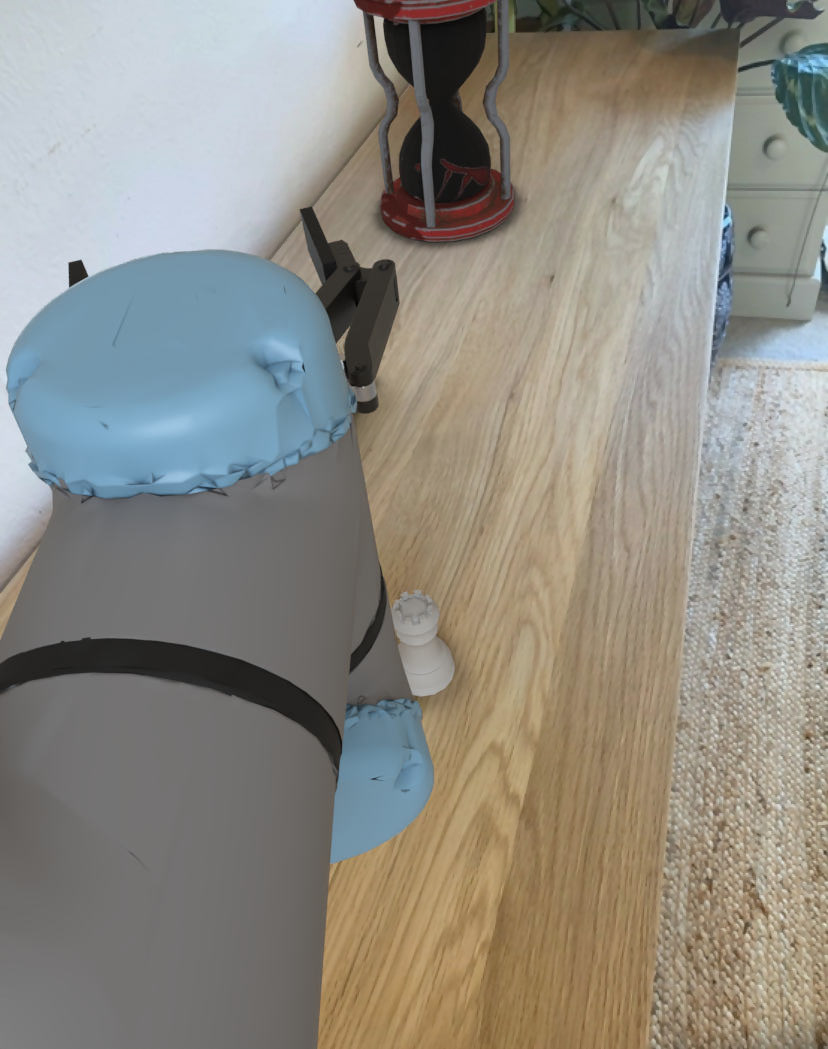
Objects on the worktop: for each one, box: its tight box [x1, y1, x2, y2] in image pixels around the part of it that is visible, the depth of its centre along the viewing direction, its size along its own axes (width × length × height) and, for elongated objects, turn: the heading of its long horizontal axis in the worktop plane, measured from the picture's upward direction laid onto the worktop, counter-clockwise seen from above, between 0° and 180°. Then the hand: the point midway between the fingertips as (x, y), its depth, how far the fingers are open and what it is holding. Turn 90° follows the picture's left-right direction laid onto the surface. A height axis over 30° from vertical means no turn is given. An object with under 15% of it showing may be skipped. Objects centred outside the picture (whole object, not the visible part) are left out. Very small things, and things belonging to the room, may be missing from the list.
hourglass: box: [353, 0, 515, 243], centre depth 94 cm, size 16×16×25 cm
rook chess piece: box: [390, 589, 456, 697], centre depth 57 cm, size 4×4×8 cm
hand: (198, 254), depth 51 cm, fingers open, 13 cm apart
